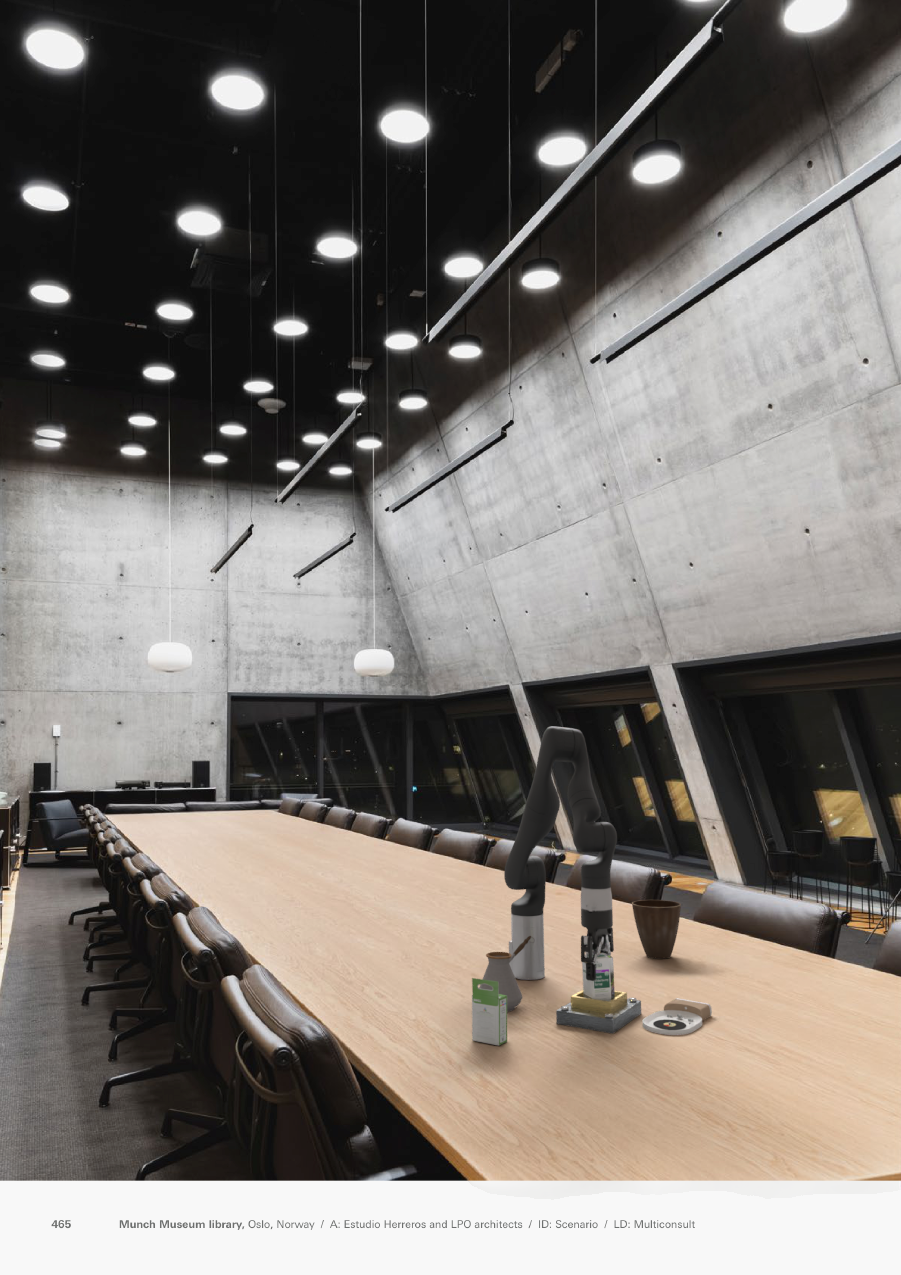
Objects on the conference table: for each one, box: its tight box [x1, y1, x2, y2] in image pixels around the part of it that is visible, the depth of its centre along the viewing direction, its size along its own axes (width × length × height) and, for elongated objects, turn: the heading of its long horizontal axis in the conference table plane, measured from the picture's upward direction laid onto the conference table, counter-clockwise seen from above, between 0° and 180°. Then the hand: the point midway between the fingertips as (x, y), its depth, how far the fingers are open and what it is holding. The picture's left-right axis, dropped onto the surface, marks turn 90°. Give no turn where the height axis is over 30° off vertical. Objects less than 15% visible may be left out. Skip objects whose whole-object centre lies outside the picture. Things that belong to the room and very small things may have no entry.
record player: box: [642, 997, 713, 1036], centre depth 205 cm, size 12×3×20 cm
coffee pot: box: [478, 936, 535, 1013], centre depth 223 cm, size 21×12×15 cm, turn 143°
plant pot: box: [631, 899, 682, 960], centre depth 273 cm, size 15×15×16 cm
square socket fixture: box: [555, 989, 642, 1035], centre depth 209 cm, size 14×18×6 cm
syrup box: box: [581, 953, 615, 1001], centre depth 210 cm, size 6×6×14 cm
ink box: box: [471, 977, 508, 1046], centre depth 193 cm, size 7×4×13 cm, turn 56°
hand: (598, 976), depth 210 cm, fingers open, 8 cm apart
